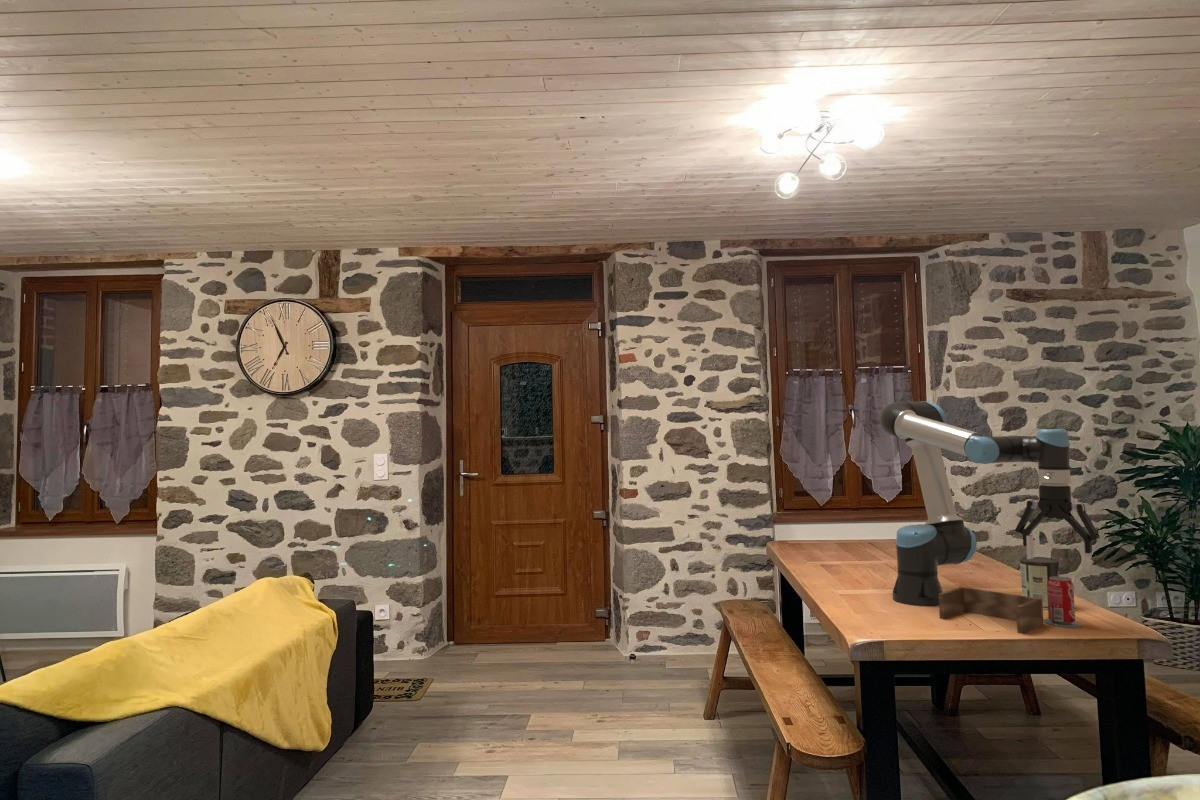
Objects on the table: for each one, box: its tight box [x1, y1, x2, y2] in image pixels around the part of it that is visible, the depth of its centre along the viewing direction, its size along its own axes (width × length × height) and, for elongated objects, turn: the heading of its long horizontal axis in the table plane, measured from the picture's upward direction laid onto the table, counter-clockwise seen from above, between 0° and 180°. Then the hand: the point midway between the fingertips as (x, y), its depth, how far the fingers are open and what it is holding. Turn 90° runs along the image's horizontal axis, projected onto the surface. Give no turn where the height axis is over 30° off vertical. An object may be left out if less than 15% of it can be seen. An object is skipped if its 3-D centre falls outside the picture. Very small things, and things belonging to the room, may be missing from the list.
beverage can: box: [1047, 576, 1076, 624], centre depth 203 cm, size 6×6×12 cm
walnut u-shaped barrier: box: [938, 586, 1044, 635], centre depth 207 cm, size 22×14×7 cm, turn 39°
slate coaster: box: [1043, 617, 1083, 629], centre depth 203 cm, size 9×9×1 cm
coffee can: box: [1019, 556, 1060, 611], centre depth 224 cm, size 10×10×14 cm
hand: (1057, 561), depth 204 cm, fingers open, 13 cm apart
